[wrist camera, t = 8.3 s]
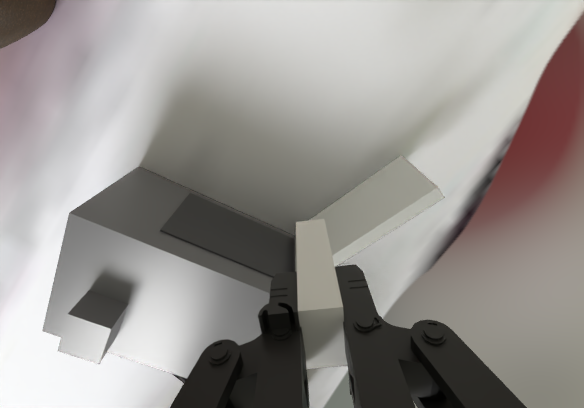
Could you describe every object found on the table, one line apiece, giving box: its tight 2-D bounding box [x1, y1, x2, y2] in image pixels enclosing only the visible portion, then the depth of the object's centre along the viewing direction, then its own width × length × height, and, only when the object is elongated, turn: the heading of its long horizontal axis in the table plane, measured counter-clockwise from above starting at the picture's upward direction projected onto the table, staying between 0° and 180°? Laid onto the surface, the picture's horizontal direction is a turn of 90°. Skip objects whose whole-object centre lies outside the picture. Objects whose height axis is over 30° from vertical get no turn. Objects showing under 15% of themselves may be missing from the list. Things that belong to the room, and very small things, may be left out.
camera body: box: [43, 167, 295, 379], centre depth 28 cm, size 12×20×12 cm, turn 63°
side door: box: [295, 155, 445, 272], centre depth 27 cm, size 2×13×8 cm, turn 129°
